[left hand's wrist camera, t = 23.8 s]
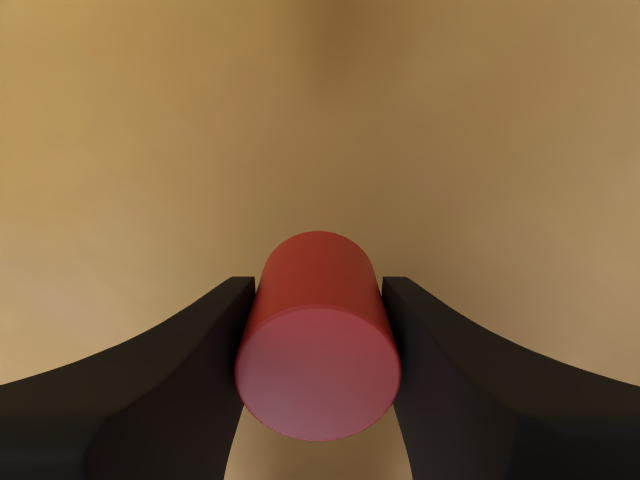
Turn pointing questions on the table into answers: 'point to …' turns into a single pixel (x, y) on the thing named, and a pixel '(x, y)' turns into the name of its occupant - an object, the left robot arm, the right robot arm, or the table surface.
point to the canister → (318, 342)
